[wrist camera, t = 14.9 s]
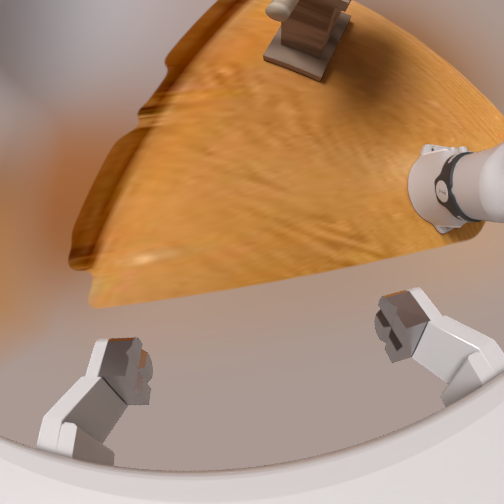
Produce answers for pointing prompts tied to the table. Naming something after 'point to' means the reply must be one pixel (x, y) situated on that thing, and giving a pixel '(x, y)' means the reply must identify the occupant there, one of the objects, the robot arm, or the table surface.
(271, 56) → the walnut stand
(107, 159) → the table surface
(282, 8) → the ash rail
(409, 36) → the table surface
